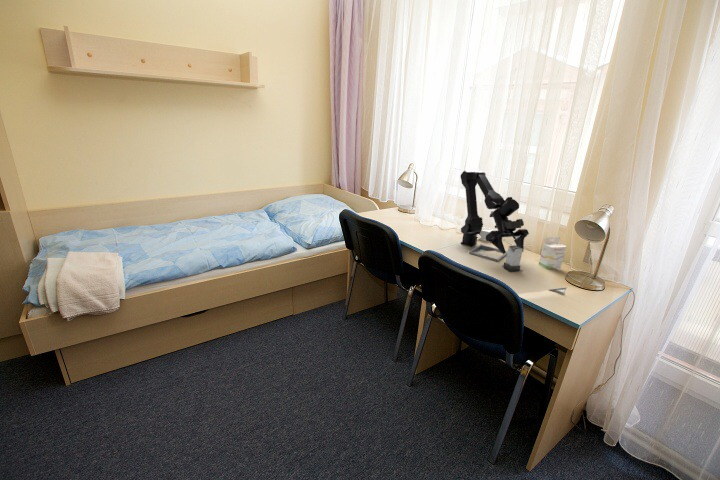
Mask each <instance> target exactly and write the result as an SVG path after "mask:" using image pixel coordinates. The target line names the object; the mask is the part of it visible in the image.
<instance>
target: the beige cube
mask: <svg viewBox="0 0 720 480" xmlns="http://www.w3.org/2000/svg"><path fill="white" fill-rule="evenodd" d="M491 229H492V228H491ZM491 231H494V229H492V230H481V232H480V234H479V235H480V236H481V238H480V240H479V241H481V242H486V243H488V242H487V240H486V235H487V234H489V233H490V232H491Z"/></svg>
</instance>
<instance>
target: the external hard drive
mask: <svg viewBox="0 0 720 480" xmlns="http://www.w3.org/2000/svg"><path fill="white" fill-rule="evenodd" d="M566 290H567V287H560V288H552V289H551V288H550V289H548V292H549V291H550V292H552V293H556V294H559V295H565V293H566Z"/></svg>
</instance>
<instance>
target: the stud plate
mask: <svg viewBox="0 0 720 480" xmlns="http://www.w3.org/2000/svg"><path fill="white" fill-rule="evenodd" d="M503 265H504V264H503ZM503 265H500V268H502V269H503V270H506V271H507V272H508V273H517V272H518V273H519V272H524V270H523V269H521V268H520V270H516V271H509V270H508V269H506V268H505V267H503Z"/></svg>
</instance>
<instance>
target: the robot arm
mask: <svg viewBox="0 0 720 480" xmlns="http://www.w3.org/2000/svg"><path fill="white" fill-rule="evenodd" d="M460 182H461V184H462V186H463V187H464V190H465V198H466V210H467V216H466V218H465V220H464V225H463V226H462V227H460V232H461V234H463V235H462V241H461V242H460V244H461V245H463V246H467V247H471V248H473V247H475V246H477V242H478V240H477V238H478V237H477V236H478V234H480V232H481V230H482V228H483V227H484V223H483V217H480V215H479V212H478V204H477V203H478V202H477V191H476V190H477V189H476V187H477V184H478V187H479V189H480V191H481V192H482V195H483V196H484V204H485V207H486V208H487V209H488V210H493V211H490V214H489V218H493V220H494V223H495V225H494V228H495V229H497V230H493V231H491V232H490V233H489V234H487V235H486V240H487V242H486V243H490V244H492V245H493V246H495V248H497V249H499V250H500V251H501V252H500V253H502V255H503V254H505V253H506V252H505V251H506V249H505V245H504V242H503V238H513V239H514V240H513V241H514V243H515V245H517V246H519V247H521V248H522V249H523V251H522V253H523V252H524V245H525V244H524V242H525V238H526V237H528V236H529V235H530V233H529V230H528V229H526V228H522V227H523V226H524V224H525V223H524V220H523V218H518V219H516V220H511V219H509V217H510V216H511V215H513V214H515V212H516V211H518V210H519V209H520V203H519V202H518V201H517V200H516V199H514V198H513V197H512V196H507V197H506V198H505V199H504V197H503V196H502V195H501V194H500V193H498V192H496V191H495V189H494V188H493V186H492V184H491V182H490V181H489V179H488V177H487V175H486V173H485V171H476V170H463V171H462V172H461V174H460Z"/></svg>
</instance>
